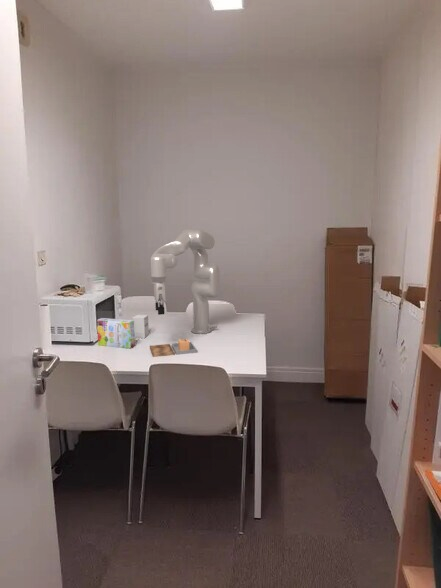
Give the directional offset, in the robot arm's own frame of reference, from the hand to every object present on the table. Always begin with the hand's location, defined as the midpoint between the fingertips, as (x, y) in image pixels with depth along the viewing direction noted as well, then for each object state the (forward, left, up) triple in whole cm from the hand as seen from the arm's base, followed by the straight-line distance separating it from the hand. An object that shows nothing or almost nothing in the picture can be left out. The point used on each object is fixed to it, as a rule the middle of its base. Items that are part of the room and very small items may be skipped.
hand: (160, 312), depth 233 cm
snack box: (+22, -21, -23) cm, 38 cm away
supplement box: (+7, -34, -23) cm, 42 cm away
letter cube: (-12, 0, -22) cm, 25 cm away
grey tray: (-12, 0, -22) cm, 25 cm away
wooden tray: (0, 0, -22) cm, 22 cm away
